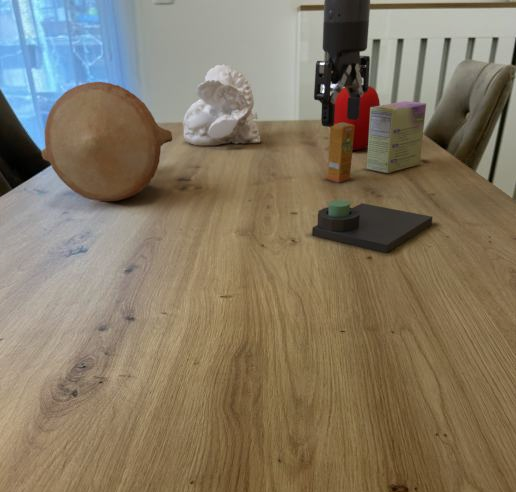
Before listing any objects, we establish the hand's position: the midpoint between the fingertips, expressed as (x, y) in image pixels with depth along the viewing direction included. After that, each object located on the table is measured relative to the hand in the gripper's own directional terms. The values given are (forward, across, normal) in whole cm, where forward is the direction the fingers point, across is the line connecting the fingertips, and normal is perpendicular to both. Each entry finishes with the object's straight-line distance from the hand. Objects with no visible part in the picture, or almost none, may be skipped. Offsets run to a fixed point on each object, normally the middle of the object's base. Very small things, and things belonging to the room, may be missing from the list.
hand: (340, 122), depth 100 cm
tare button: (+8, -25, -16) cm, 30 cm away
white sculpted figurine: (+11, +14, +43) cm, 46 cm away
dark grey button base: (+10, -21, -19) cm, 30 cm away
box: (+10, +14, -4) cm, 18 cm away
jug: (+11, -27, +31) cm, 42 cm away
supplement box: (+10, 0, 0) cm, 11 cm away
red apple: (+10, +25, +12) cm, 30 cm away
